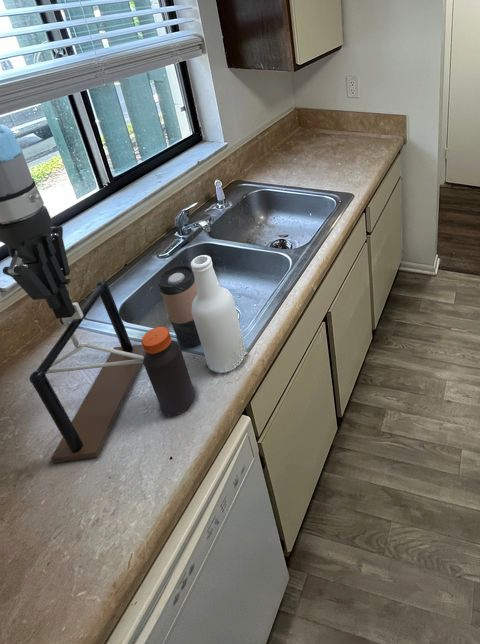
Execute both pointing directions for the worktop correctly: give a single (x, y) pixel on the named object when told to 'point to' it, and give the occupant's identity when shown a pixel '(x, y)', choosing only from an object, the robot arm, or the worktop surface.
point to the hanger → (79, 315)
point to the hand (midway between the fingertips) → (66, 314)
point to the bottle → (167, 371)
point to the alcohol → (216, 319)
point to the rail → (104, 395)
